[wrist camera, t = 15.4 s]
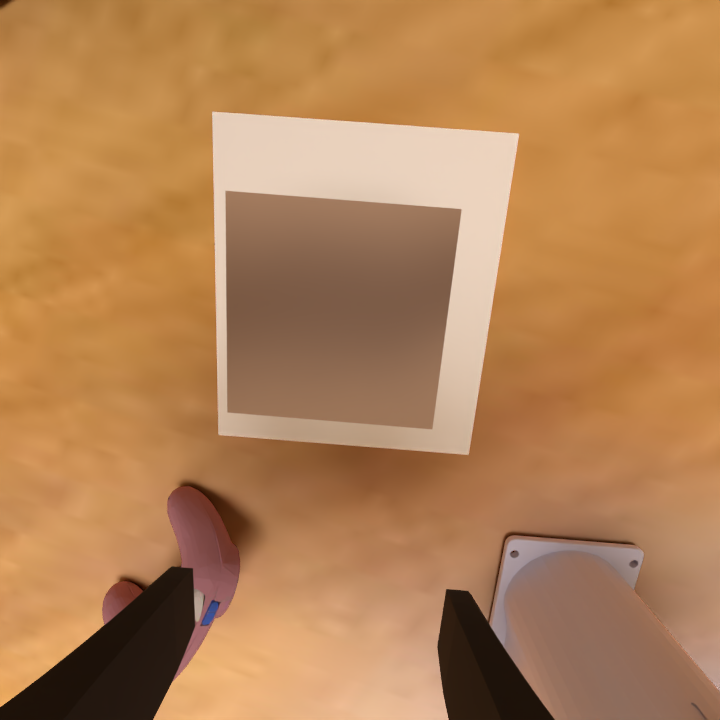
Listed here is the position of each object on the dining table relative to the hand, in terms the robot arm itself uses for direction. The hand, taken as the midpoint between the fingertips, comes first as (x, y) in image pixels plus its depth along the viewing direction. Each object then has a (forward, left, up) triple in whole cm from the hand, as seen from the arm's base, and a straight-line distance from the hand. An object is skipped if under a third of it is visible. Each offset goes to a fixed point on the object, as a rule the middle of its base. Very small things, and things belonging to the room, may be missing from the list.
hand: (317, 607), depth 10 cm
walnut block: (+8, 0, -5) cm, 10 cm away
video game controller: (-9, +9, -11) cm, 16 cm away
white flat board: (+8, 0, -10) cm, 13 cm away
